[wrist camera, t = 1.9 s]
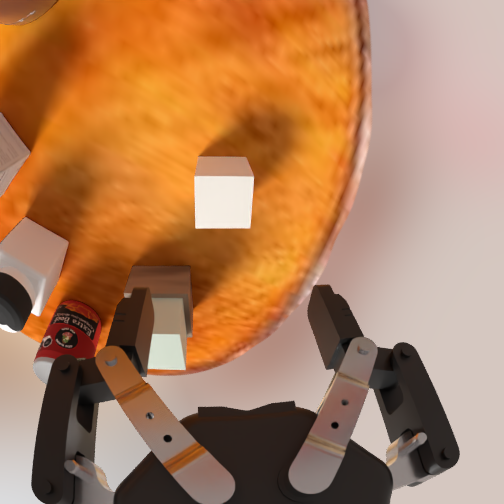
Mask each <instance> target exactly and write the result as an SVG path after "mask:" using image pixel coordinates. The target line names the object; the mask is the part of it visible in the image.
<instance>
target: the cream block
mask: <svg viewBox="0 0 504 504" xmlns="http://www.w3.org/2000/svg"><path fill="white" fill-rule="evenodd" d="M253 186H254V175H253V172H252V170H251V167H250V165H249V163H248V160H247V158H246V157H218V156H198V161H197V166H196V172H195V227H196V228H250V225H251V212H252V199H253Z"/></svg>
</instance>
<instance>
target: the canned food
mask: <svg viewBox="0 0 504 504" xmlns="http://www.w3.org/2000/svg"><path fill="white" fill-rule="evenodd" d="M100 333H101V321H100V318H99V316H98V315H97V313H96V312H95V311H94V310H93V309H92V308H90V307H89V306H88V305H86V304H84V303H82V302H79V301H74V300H69V301H65V302H63V303H61V304H60V305H59V306H58V307H57V309H56V311H55V313H54V315H53V317H52V319H51V321H50V324H49V326H48V328H47V330H46V333H45V335H44V337H43V340H42V342H41V345H40V347H39V350H38V352H37V354H36V358H35V360H34V364H33V370H34V372H35V374H36V375H37V377H38V378H39V379H40V380H41V381H43V382H44V383H45V384H47V382H48V378H49V374H50V370H51V366H52V363H53V362H54V360H55V359H56V358H57V357H59V356H61V355H65V354H69V355H72V356H74V357H75V358H76V359H77V360H78V361H80V360H85V359H90V358H93V357H94V355H95V351H96V347H97V344H98V340H99V337H100Z"/></svg>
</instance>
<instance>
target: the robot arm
mask: <svg viewBox="0 0 504 504" xmlns="http://www.w3.org/2000/svg"><path fill="white" fill-rule="evenodd" d="M56 1H57V0H0V24H5V25H24V24H27V23H30V22H32V21H34V20H36V19H37V18H39V17H40V16H42V15H43V14H44V13H45V12H46V11H48V10H49V9H50V8H51V7H52V6H53V5H54V3H55V2H56ZM308 319H309V322H310V325H311V328H312V330H313V333H314V336H315V339H316V342H317V345H318V348H319V350H320V353H321V356H322V359H323V362H324V365H325V368H326V369H327V370H328V369H334V371H335V375H334V376H333V379H332V381H331V383H330V385H329V387H328V389H327V391H326V393H325V396H324V398H323V400H322V402H321V404H320V405H319V407H318V409H317V411H316V413H314V412H312V411H310V410H307V409H304V408H300V407H296V406H295V402H294V401H289V402H280V403H271V404H268V405H265V406H262V407H259V408H256V409H253V410H249V411H245V410H238V409H233V408H227V407H198V413H196V414H192V415H190V416H187V417H185V418H183V419H182V420H180V421H178V420H177V418H176V417H175V416H174V415H173V414H172V412H171V411H170V410H169V409H168V407H167V406H166V405H165V404H164V402H163V401H162V400H161V399H160V397H159V396H158V395H157V394H156V392H155V391H154V390H153V388H152V387H151V386H150V385H149V384H148V383H146V382H145V381H144V380H143V379H142V377H146V376H147V369H148V361H149V354H150V347H151V340H152V333H153V327H154V308H153V303H152V298H151V293H150V289H149V287H134V288H133V290H132V294H131V297H130V298H123V299H122V300H121V301H120V303H119V304H118V305H117V308H116V312H115V315H114V318H113V322H112V325H111V329H110V332H109V336H108V339H107V343H106V346H105V347H104V348H102V349H101V350H100V351H99V352H98V353H97V355H96V357H93V358H90V359H85V360H80V361H78V360H77V359H76V358H75V357H74V356H72V355H69V354H65V355H61V356H59V357H57V358H56V359H55V360H54V362H53V363H52V366H51V370H50V374H49V378H48V382H47V386H46V390H45V394H44V399H43V403H42V408H41V414H40V418H39V424H38V430H37V436H36V443H35V450H34V459H33V469H32V482H31V486H32V490H33V492H34V494H35V496H36V497H37V498H38V499H39V500H40V501H41V502H43V503H45V504H390V498H391V494H392V490H395V489H398V488H401V487H403V486H406V485H407V486H411V487H413V486H416V485H418V484H421V483H423V482H425V481H427V480H429V479H431V478H433V477H435V476H436V475H439V474H440V473H442V472H444V471H446V470H448V469H450V468H451V467H453V466H454V465H455V464H456V463H457V461H458V459H459V455H460V453H459V447H458V445H457V442H456V439H455V437H454V434H453V432H452V429H451V426H450V424H449V421H448V419H447V416H446V414H445V411H444V409H443V407H442V405H441V402H440V400H439V397H438V395H437V393H436V391H435V388H434V386H433V384H432V382H431V380H430V378H429V375H428V373H427V371H426V369H425V367H424V365H423V363H422V361H421V359H420V357H419V355H418V353H417V351H416V349H415V348H414V347H413V346H412V345H410V344H408V343H404V342H402V343H398V344H396V345H395V346H394V348H393V349H387V348H380V347H377V346H376V344H375V343H374V342H373V341H372V340H370V339H368V338H366V337H364V335H363V333H362V331H361V329H360V327H359V325H358V323H357V321H356V319H355V317H354V316H353V314H352V312H351V310H350V307H349V305H348V303H347V302H346V300H345V299H344V298H343V297H342V296H340V295H339V294H334V292H333V290H332V288H331V286H330V285H315V286H314V287H313V290H312V294H311V298H310V302H309V305H308ZM369 388H372V389H374V392H375V395H376V398H377V401H378V404H379V407H380V411H381V413H382V417H383V420H384V423H385V426H386V429H387V432H388V436H389V439H390V442H391V444H390V445H389V447H388V449H387V452H386V457H387V458H386V461H387V462H386V464H385V463H384V462H383V461H382V460H380V459H379V458H377V457H376V456H374V455H373V454H371V453H370V452H368V451H367V450H366V449H364V448H363V447H361V446H360V445H358V444H357V443H356V442H354V441H353V440H351V439H350V437H351V435H352V433H353V430H354V428H355V425H356V423H357V420H358V418H359V415H360V412H361V409H362V407H363V404H364V401H365V399H366V396H367V393H368V390H369ZM115 399H116V400H117V401H118V403H119V405H120V406H121V408H122V409H123V411H124V412H125V414H126V415H127V417H128V418H129V420H130V421H131V423H132V424H133V425H134V427H135V429H136V430H137V431H138V432H139V434H140V435H141V437H142V438H143V440H144V441H145V442H146V444H147V445H148V446H149V448H150V449H151V450H152V451H151V452H150V453H149V454H148V455H147V456H146V457H145V458H144V459H143V460H142V461H141V462H140V464H139V465H138V466H137V467H136V468H135V469H134V470H133V471H132V472H131V473H130V474H129V475H128V476H127V477H126V478H125V479H124V480H123V481H122V483H121V484H120V485H119V486H118V487H117V489H116V491H115V492H113V491H112V490H111V489H110V488H109V486H108V484H107V480H106V476H105V473H104V472H103V470H102V469H101V468H100V467H99V466H97V465H96V464H94V457H95V439H96V427H97V416H98V407H99V403H100V402H105V401H110V400H115Z"/></svg>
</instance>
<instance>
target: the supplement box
mask: <svg viewBox="0 0 504 504" xmlns="http://www.w3.org/2000/svg"><path fill="white" fill-rule="evenodd" d="M30 153H31V152H30V151H29V150H28V148H27V147H26V146H25V144H24V143H23V142H22V141H21V139H20V138H19V137H18V135H17V134H16V133H15V131H14V130H13V129H12V127H11V126H10V124H9V123H8V122H7V120H6V119H5V117H4V116H3V115H2V113H1V112H0V197H1V196H2V195H3V194H4V193H5V191H6V189H7V188H8V186H9V185H10V183H11V181H12V180H13V178H14V177H15V175H16V174H17V172H18V171H19V169H20V168H21V166H22V165H23V163H24V162H25V161H26V159H27V158H28V156H29V155H30Z"/></svg>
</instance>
